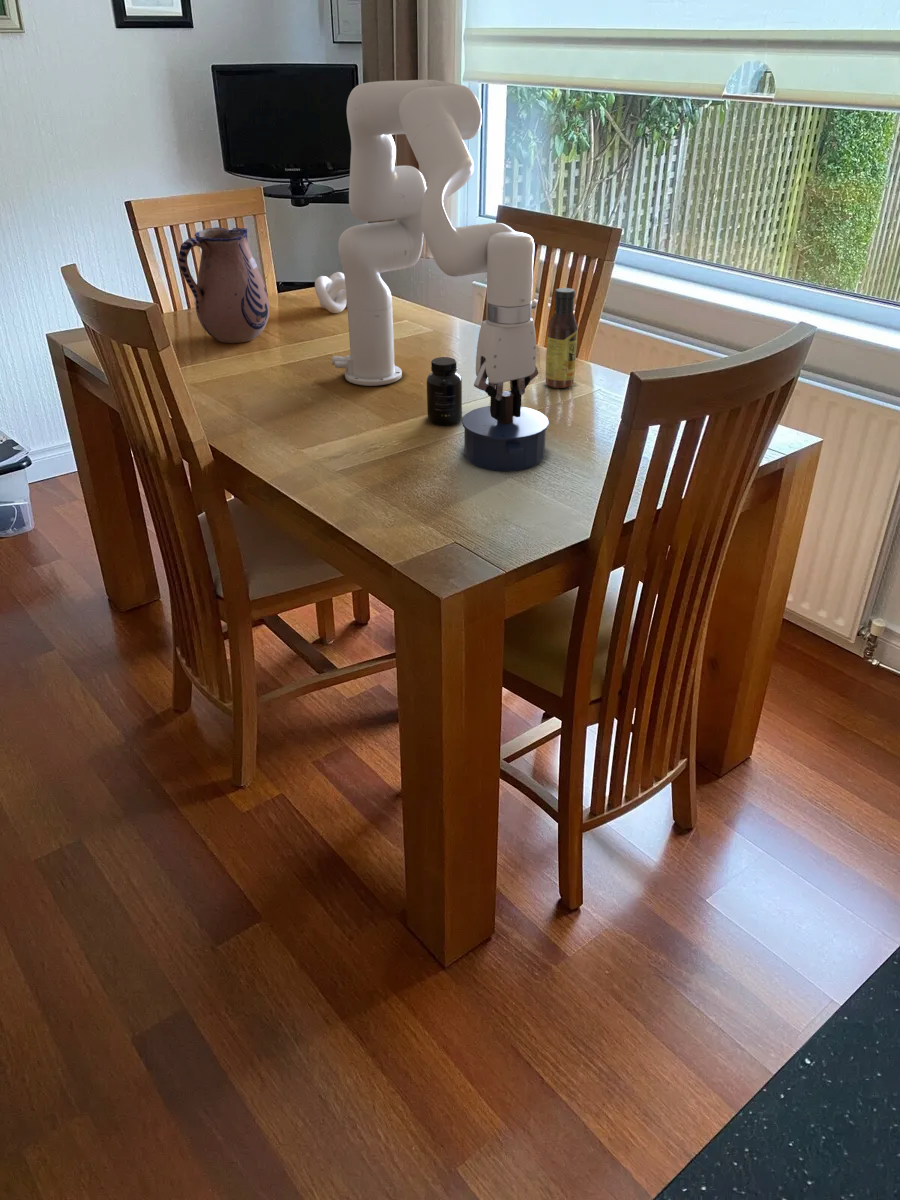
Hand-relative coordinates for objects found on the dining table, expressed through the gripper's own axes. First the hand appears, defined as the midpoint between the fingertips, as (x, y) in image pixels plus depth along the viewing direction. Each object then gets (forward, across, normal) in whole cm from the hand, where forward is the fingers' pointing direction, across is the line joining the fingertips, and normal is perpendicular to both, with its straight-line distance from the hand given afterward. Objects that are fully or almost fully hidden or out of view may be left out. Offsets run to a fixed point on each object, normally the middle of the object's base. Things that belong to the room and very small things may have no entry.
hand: (505, 415), depth 159 cm
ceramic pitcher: (+8, +17, -92) cm, 94 cm away
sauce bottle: (+8, -31, -23) cm, 40 cm away
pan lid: (+1, 0, 0) cm, 1 cm away
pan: (+7, 0, 0) cm, 7 cm away
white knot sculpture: (+8, -17, -102) cm, 104 cm away
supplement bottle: (+8, 0, -20) cm, 21 cm away
